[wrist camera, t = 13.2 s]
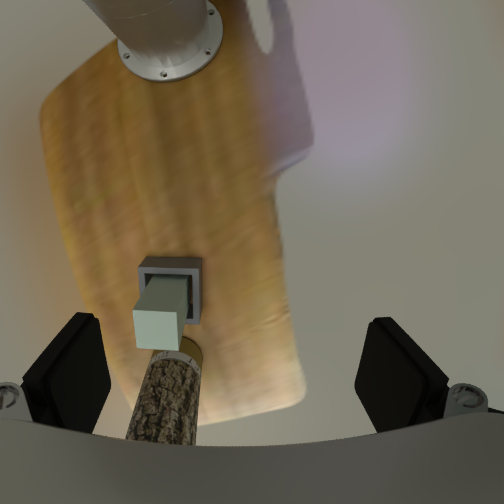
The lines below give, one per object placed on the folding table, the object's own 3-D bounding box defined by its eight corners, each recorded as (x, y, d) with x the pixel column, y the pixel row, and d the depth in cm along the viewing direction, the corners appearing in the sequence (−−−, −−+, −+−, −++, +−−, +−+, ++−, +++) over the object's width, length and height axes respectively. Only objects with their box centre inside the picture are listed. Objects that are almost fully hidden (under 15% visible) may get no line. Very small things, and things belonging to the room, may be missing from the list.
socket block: (146, 256, 38) (138, 266, 34) (201, 258, 39) (198, 268, 35) (149, 307, 40) (142, 321, 36) (201, 309, 40) (199, 324, 37)
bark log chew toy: (156, 372, 43) (119, 523, 19) (151, 332, 41) (97, 487, 17) (203, 375, 43) (194, 533, 19) (202, 334, 41) (186, 500, 17)
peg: (158, 267, 39) (132, 310, 27) (190, 268, 39) (176, 312, 27) (159, 297, 40) (137, 348, 28) (190, 298, 40) (178, 350, 28)
